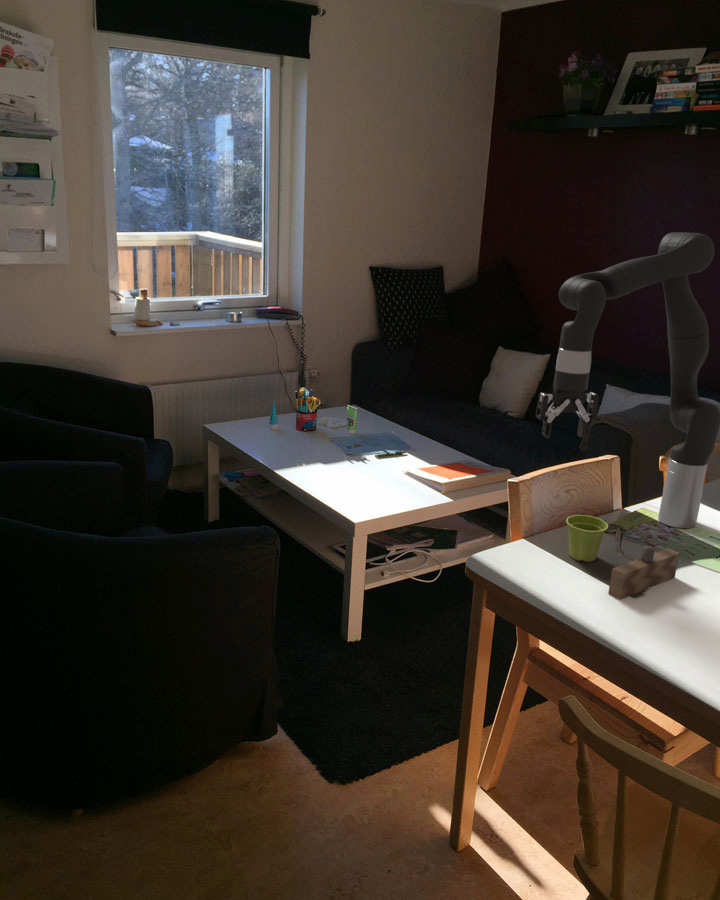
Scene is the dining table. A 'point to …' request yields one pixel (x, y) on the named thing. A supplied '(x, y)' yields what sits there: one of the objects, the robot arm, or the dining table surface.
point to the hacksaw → (617, 540)
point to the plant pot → (585, 536)
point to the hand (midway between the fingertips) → (563, 436)
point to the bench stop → (643, 572)
